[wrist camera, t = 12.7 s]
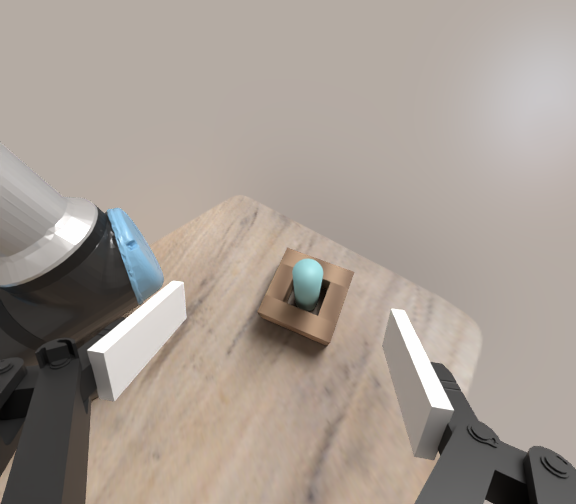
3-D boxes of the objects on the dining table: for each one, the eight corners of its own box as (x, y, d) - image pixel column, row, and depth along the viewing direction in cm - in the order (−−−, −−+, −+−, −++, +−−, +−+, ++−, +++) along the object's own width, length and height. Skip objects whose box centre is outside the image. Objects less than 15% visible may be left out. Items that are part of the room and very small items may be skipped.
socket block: (261, 317, 46) (257, 311, 42) (288, 259, 51) (287, 247, 46) (326, 346, 44) (329, 342, 39) (349, 281, 48) (354, 272, 44)
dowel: (291, 306, 47) (287, 280, 34) (300, 285, 48) (299, 254, 36) (313, 314, 46) (316, 292, 33) (321, 294, 47) (327, 264, 35)
